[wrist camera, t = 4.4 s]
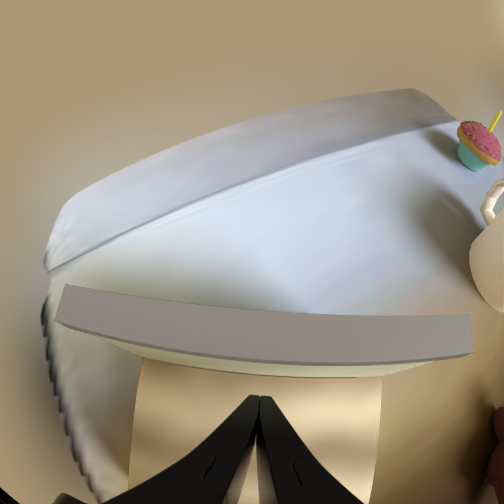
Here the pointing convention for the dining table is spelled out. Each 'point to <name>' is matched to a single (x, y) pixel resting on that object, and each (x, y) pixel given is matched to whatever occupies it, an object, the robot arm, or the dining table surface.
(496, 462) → the icecream
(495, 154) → the cupcake
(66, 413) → the dining table surface
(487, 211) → the mug
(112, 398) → the dining table surface
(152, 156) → the dining table surface
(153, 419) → the cream and gold block
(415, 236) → the dining table surface
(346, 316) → the panel
